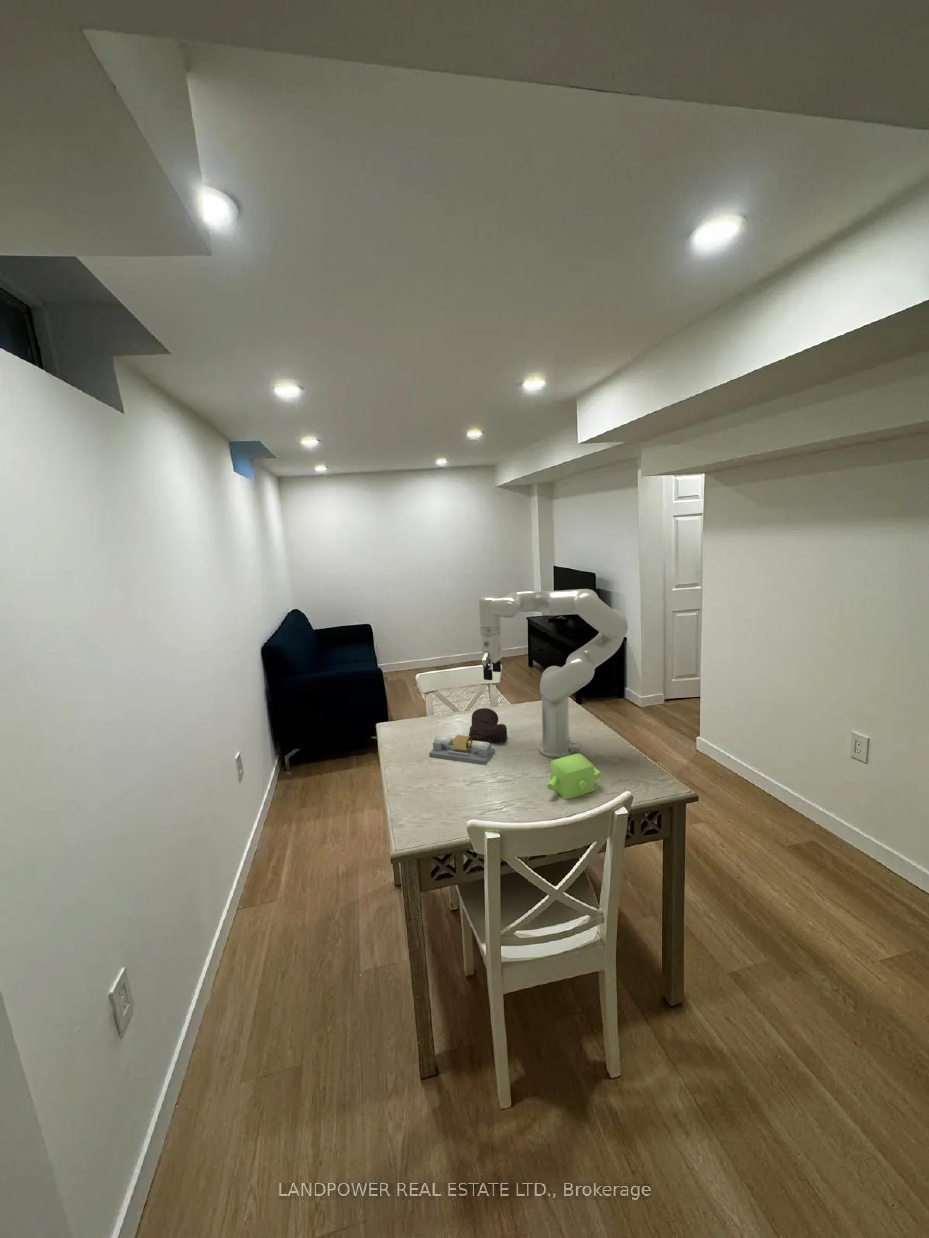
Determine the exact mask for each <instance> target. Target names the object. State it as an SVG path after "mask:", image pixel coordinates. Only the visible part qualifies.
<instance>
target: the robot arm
mask: <svg viewBox="0 0 929 1238" xmlns="http://www.w3.org/2000/svg"><path fill="white" fill-rule="evenodd" d="M478 609H479V610H478V611H479V613H478V614H479V630H480V636H481V658H482V659H481V662H482V670H483V680H484V681H493V673H501V672H502V662H501V661H502V658H503V656H504V655H503V653H504V652H503V642H502V623H501V621H502V619H501V618H505V619H507V618H509V619H511V618H516V617H517V616H518V615H519V614H520V613H526V612H531V613H532V612H536V613H542V614H545V615H547V616H564V615H565V616H567V615H578V616H579V617H580V618H581V619H582V620H584V621H585V622H586V624H588V625H589V626H591V627H592V628H593V629H595V630H596V631H597V632H598V634H597V635H596V636H594V637H593V638H591V640H590V641H588V642H587V643H585V644H584V645H583V646H581V647H579V648H578V649H576V650H575V651H573V652H571V653H570V654H568V657H567V658H566V661H565V664H564V665H563V666H557V665H551V666H549V667H547V668H546V669H545V670H543V672H542V674H541V677H540V684H539V692H540V694H541V732H542V738H541V739H542V742H541V743H539V744H538V752H539V753H540V754H541V755H543V756H546V757H549V758H556V759H558V758H562V757H565V756H569V755H573V753H574V750H576V751H581V750H582V744H579V743H580V742H579V741H573V740H572V737H571V736H570V729H569V728H570V726H569V725H570V724H569V718H570V717H569V716H570V715H569V709H570V708H569V706H570V705H569V697H570V696H571V695H573V694H575V693H576V692H578V691H579V690H580V689H582V688H583V687H585V686H586V685H588V684H589V683H590V682H591V681H592V679H594V678H593V677H594V675H595V671H596V670H595V669H596V668H597V667H599V666H600V665H602V664H603V663H604V662H606V661H607V660H608V659H610V658H611V657H612V656H614V654H616V652H617V651H618V650H619V649H620V647H621V646H622V643H623V642H624V639H625V635H626V634H627V632H628V629H629V625H628V621H627V619H626V617H625V615H624V614H623V612H621V611H620V610H618V609H615V608H611V607H610V606H609V605H608V604H606V602H604V601H602V599H601V598H599V596H598V594H597V593H596V591H594V590H593V589H589V588H579V589H576V588H575V589H565V590H542V591H539V590H538V591H535V590H533V591H531V590H530V591H517V592H510V593H508V594H506V595H505V596H503V597H499V596H497V595H484V596H481V597H480V598H479V600H478Z"/></svg>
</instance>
